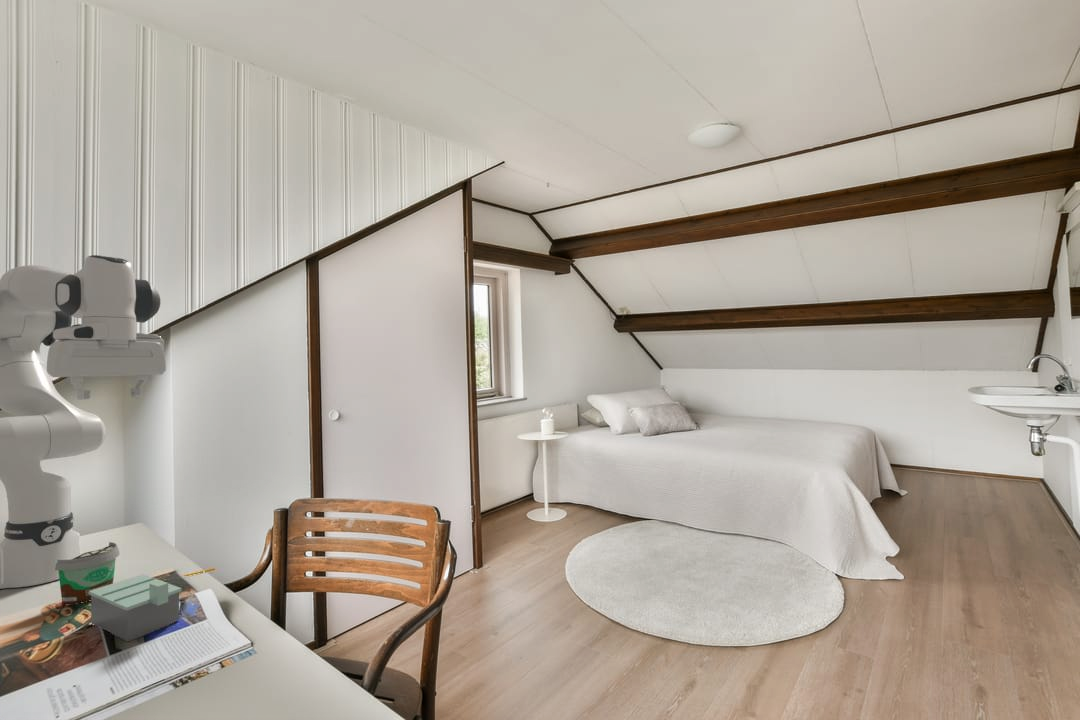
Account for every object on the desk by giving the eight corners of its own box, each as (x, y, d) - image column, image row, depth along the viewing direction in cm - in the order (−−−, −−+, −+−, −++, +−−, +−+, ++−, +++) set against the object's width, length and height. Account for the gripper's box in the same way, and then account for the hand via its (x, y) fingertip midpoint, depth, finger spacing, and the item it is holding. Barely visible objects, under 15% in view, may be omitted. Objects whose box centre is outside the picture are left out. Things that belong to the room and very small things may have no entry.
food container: (78, 610, 113) (78, 562, 113) (54, 607, 114) (54, 560, 114) (133, 586, 125) (133, 543, 125) (111, 583, 126) (111, 541, 126)
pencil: (123, 592, 122) (123, 589, 122) (214, 570, 135) (214, 567, 135) (124, 593, 122) (124, 590, 122) (215, 571, 135) (215, 568, 135)
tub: (91, 624, 107) (91, 593, 107) (142, 605, 115) (142, 577, 115) (127, 641, 101) (127, 609, 101) (179, 621, 108) (179, 591, 108)
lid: (88, 594, 107) (88, 576, 107) (143, 576, 115) (142, 560, 115) (134, 614, 99) (134, 594, 99) (189, 594, 107) (189, 575, 107)
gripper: (156, 334, 125) (157, 394, 125) (42, 330, 107) (43, 400, 107) (171, 333, 122) (172, 395, 122) (57, 329, 104) (57, 401, 104)
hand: (111, 397), depth 114 cm, fingers open, 8 cm apart
